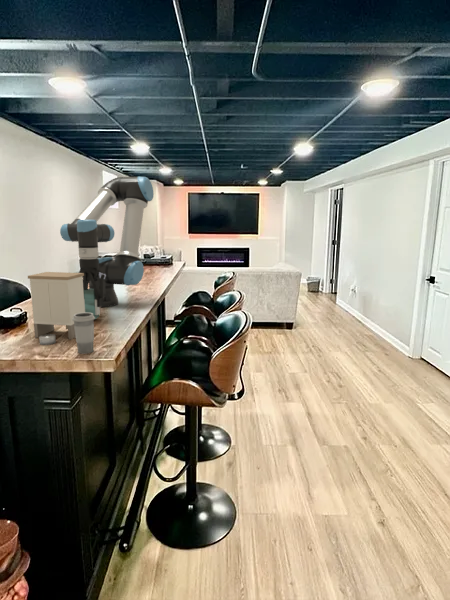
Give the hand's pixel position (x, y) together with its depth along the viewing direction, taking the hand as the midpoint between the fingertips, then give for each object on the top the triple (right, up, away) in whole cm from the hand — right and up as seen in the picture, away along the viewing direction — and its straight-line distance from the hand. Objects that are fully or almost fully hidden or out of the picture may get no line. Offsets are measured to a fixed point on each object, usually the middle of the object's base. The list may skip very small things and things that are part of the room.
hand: (92, 314), depth 162 cm
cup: (+11, -11, -39) cm, 42 cm away
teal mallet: (-1, -3, -7) cm, 8 cm away
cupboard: (-4, -7, -21) cm, 22 cm away
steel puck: (-5, -9, -31) cm, 32 cm away
